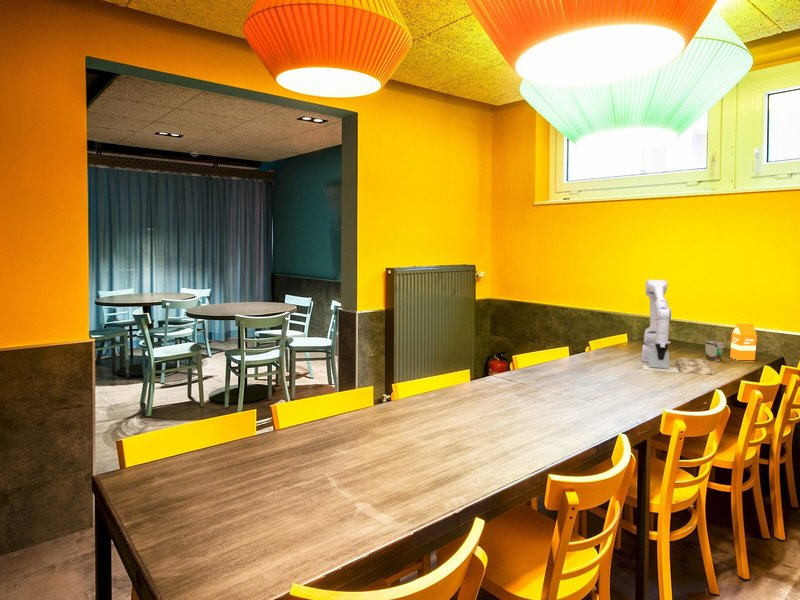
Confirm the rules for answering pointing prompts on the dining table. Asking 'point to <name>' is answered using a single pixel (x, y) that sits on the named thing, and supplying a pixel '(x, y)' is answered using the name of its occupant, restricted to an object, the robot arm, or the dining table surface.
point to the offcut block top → (694, 364)
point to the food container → (714, 350)
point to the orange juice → (743, 342)
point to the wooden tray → (704, 369)
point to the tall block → (655, 361)
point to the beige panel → (670, 369)
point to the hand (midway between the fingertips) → (660, 358)
